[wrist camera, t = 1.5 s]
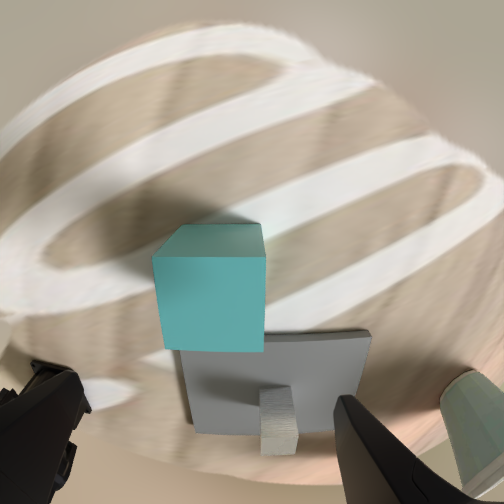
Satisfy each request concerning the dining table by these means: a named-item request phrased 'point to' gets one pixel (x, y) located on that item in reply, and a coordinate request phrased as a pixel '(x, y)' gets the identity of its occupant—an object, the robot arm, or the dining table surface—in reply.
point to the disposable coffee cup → (475, 430)
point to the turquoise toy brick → (212, 288)
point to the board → (274, 380)
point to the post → (277, 421)
